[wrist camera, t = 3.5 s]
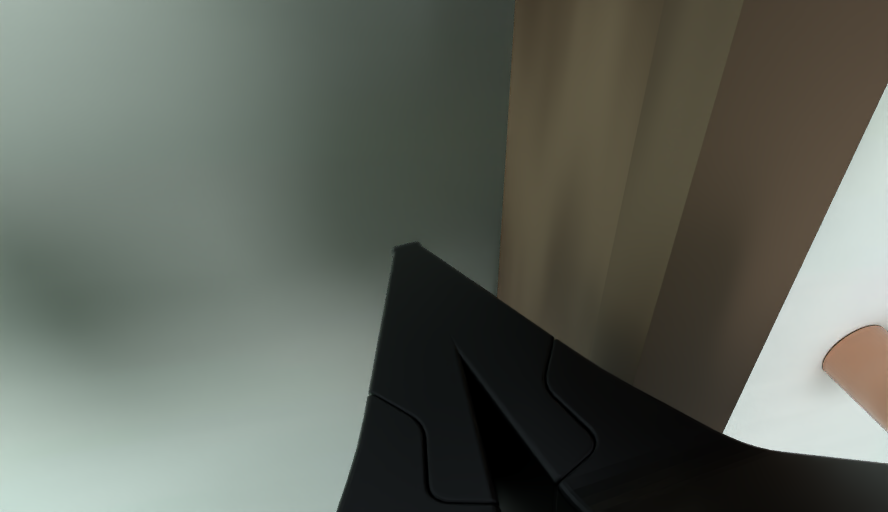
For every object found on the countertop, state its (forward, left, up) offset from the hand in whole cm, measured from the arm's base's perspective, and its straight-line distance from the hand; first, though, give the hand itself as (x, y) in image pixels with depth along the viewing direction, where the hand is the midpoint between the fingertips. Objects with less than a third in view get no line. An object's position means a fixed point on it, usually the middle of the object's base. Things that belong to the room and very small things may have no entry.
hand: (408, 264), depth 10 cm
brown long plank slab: (-2, -3, -2) cm, 4 cm away
